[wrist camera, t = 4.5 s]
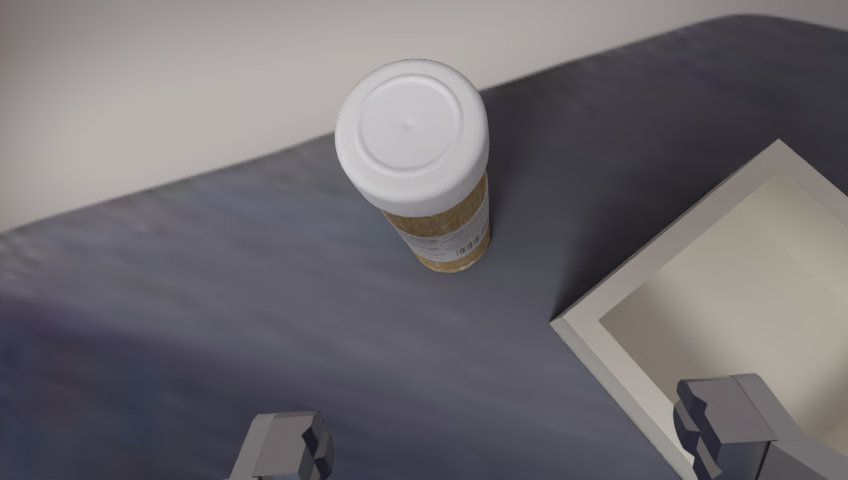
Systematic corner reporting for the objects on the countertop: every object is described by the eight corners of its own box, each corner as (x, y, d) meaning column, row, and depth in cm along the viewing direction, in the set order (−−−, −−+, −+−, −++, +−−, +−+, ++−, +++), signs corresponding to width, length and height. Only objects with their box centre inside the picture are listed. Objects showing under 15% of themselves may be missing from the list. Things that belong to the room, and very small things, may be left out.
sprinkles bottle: (459, 181, 27) (428, 24, 14) (507, 244, 26) (522, 135, 13) (393, 227, 27) (302, 111, 14) (439, 292, 26) (385, 231, 13)
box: (926, 365, 22) (1049, 368, 17) (729, 534, 21) (798, 586, 17) (723, 179, 25) (778, 138, 20) (548, 323, 25) (562, 316, 20)
